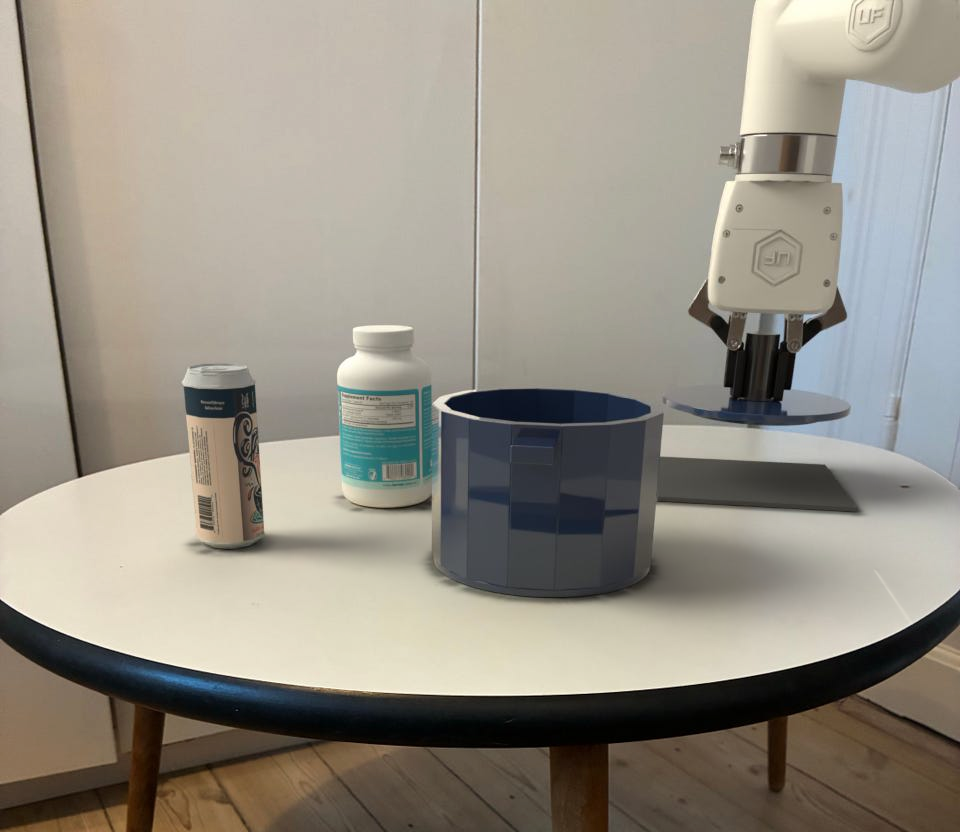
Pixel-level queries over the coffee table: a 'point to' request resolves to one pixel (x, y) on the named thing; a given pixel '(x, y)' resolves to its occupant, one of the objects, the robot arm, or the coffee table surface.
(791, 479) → the trivet
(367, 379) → the pill bottle
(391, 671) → the coffee table surface
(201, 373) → the beer can
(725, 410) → the lid
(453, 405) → the pot
